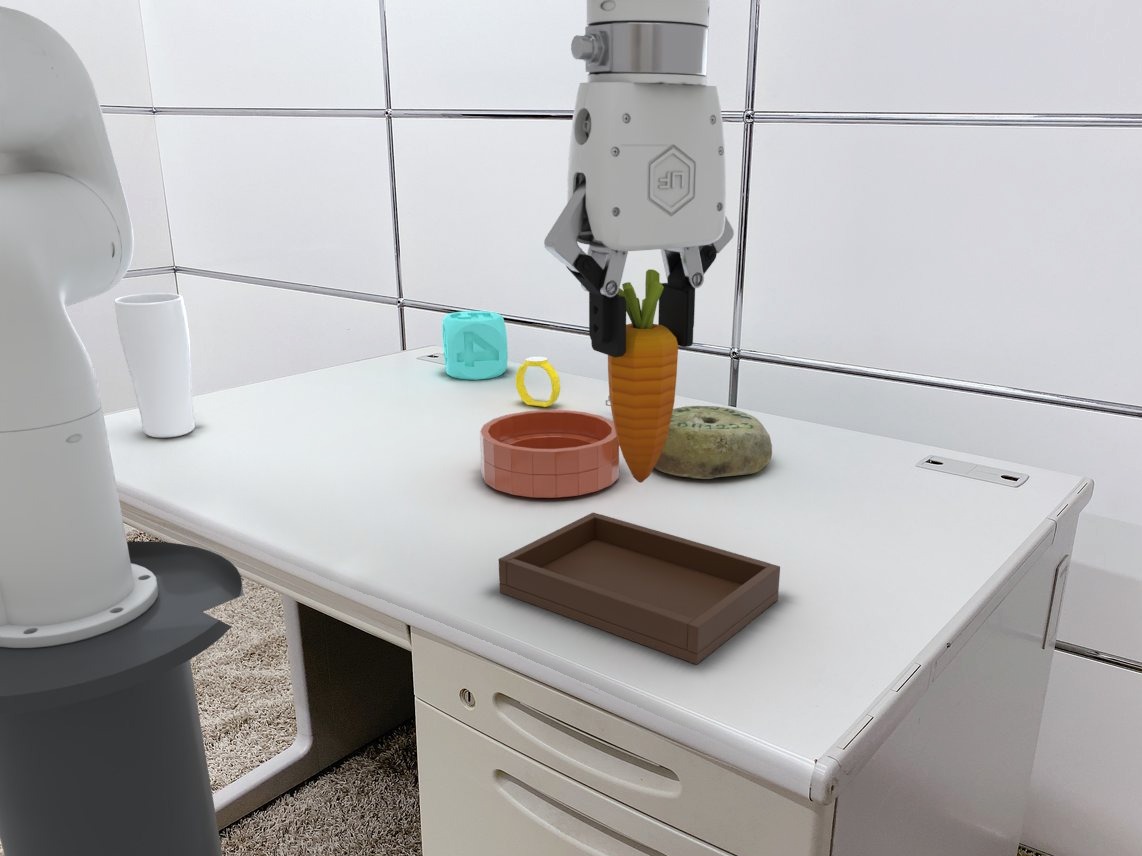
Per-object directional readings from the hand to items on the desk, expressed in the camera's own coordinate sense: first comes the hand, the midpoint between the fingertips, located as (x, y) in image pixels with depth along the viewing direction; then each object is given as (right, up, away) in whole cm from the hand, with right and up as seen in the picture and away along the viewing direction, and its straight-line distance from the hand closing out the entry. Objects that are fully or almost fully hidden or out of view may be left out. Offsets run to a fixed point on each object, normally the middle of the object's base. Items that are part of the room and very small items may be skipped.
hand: (642, 345), depth 67 cm
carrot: (0, -10, +3) cm, 10 cm away
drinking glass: (-53, -4, +42) cm, 68 cm away
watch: (-13, 0, +55) cm, 56 cm away
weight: (+7, -7, +36) cm, 37 cm away
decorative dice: (-23, +6, +70) cm, 74 cm away
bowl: (-9, -9, +31) cm, 33 cm away
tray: (0, -18, +7) cm, 19 cm away
